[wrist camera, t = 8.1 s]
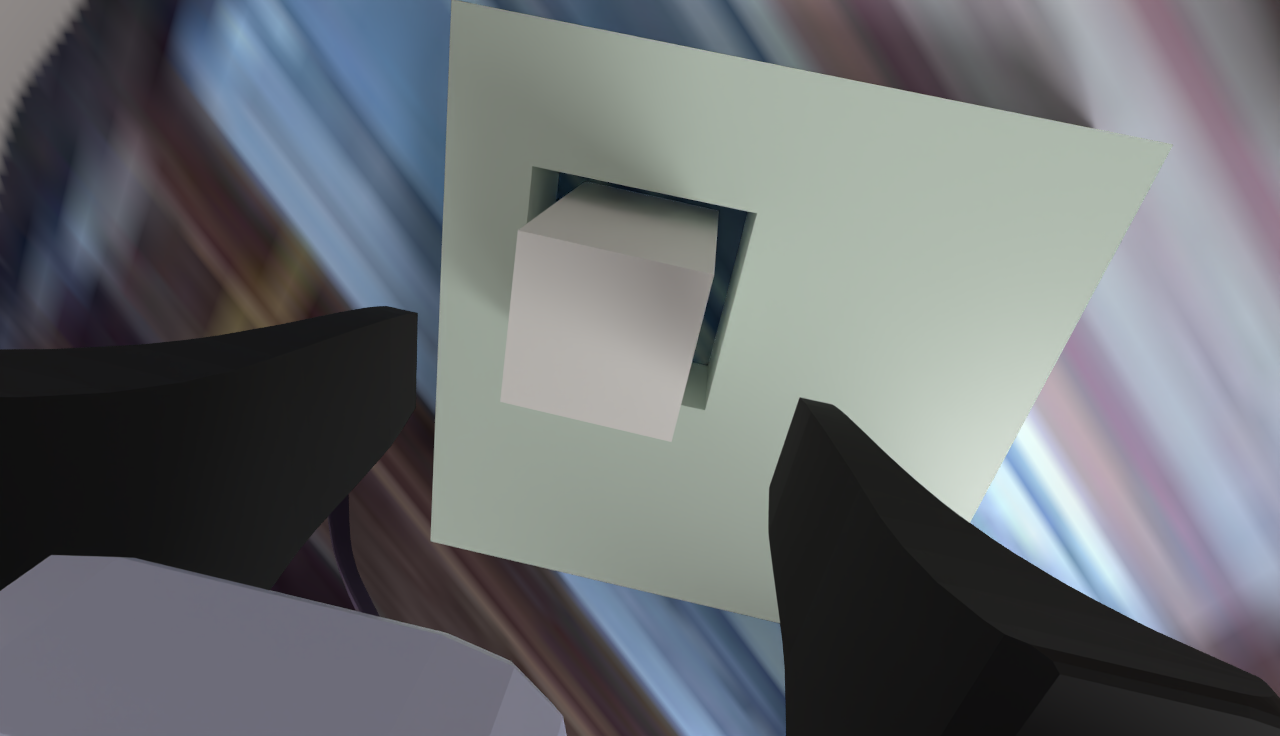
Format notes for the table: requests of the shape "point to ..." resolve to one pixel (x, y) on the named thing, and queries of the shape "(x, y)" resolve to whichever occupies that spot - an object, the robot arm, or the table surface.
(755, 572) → the pale green square slab
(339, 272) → the table surface
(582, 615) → the table surface
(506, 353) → the block
